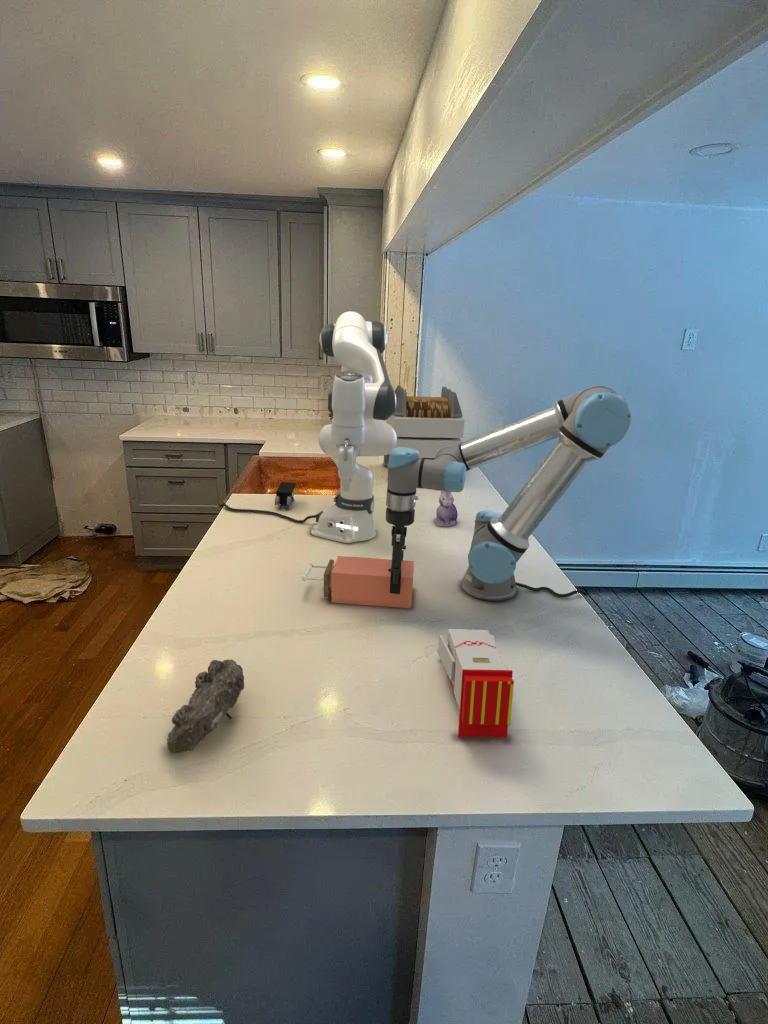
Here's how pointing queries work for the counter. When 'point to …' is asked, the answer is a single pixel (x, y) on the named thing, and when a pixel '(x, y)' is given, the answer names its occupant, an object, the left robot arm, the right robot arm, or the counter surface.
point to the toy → (478, 682)
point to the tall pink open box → (370, 582)
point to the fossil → (206, 705)
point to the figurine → (446, 510)
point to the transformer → (426, 422)
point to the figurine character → (285, 494)
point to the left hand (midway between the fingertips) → (347, 485)
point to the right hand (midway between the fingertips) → (396, 581)
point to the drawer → (326, 579)
